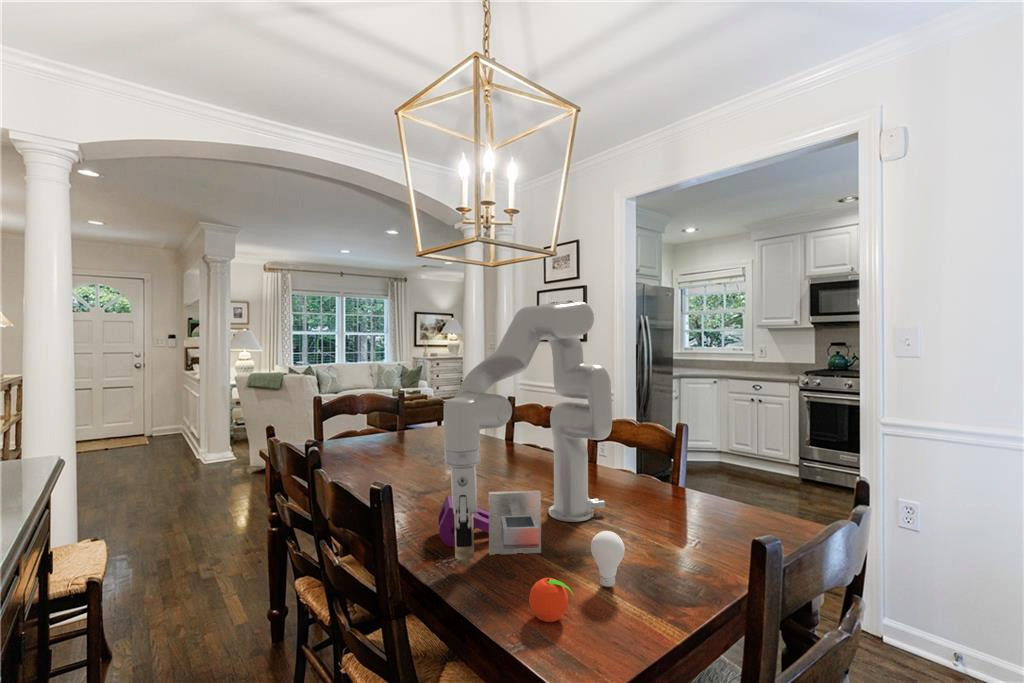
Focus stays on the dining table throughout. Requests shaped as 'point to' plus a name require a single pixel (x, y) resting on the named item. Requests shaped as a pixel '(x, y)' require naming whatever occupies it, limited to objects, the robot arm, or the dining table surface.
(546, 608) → the clementine
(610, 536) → the light bulb
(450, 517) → the mounting bracket
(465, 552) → the maple peg
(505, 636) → the dining table surface
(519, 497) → the cup bracket
